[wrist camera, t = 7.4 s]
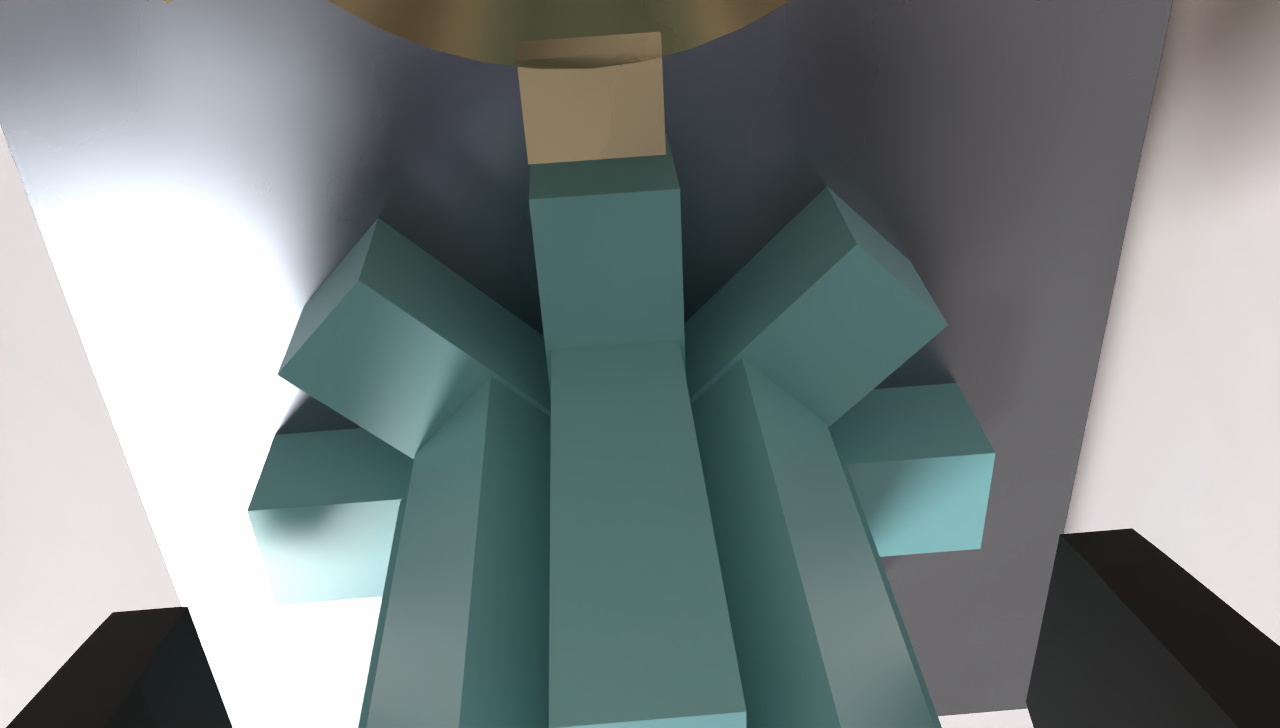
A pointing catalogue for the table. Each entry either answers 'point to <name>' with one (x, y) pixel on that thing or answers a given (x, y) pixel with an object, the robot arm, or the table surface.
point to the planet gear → (625, 473)
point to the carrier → (504, 249)
